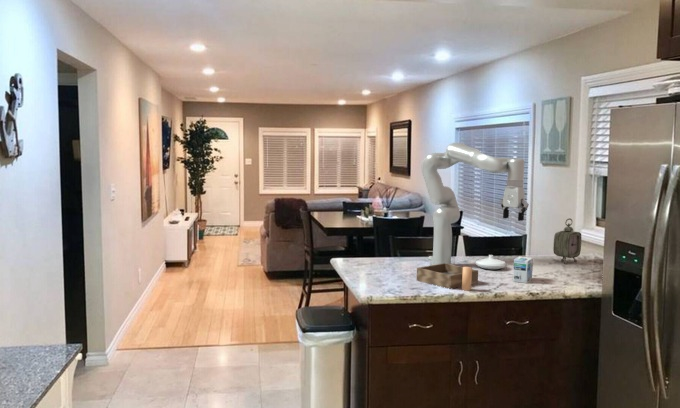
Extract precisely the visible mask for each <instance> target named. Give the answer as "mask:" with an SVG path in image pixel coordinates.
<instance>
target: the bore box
mask: <svg viewBox="0 0 680 408" xmlns="http://www.w3.org/2000/svg"><path fill="white" fill-rule="evenodd" d="M463 267H464V266H458V265H451V264H446V263H442V264H437V265H431V266H430V265H426V266H420V267H416V281H417V282H421V283H425V284H428V283H429V284H430V285H432V284H434V285H433V286H436V285H437V287H440V286H441V288H444V287H445V288H444V289H448V288H449V289H448V290H452V289H451V288H453V289H457V288H456V287H458V288H462V287H461V286H462V274H463ZM475 283H476V284H478V283H479V270H477V269H473V268H472V281H471V284H472V285H475Z"/></svg>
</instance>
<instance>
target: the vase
mask: <svg viewBox="0 0 680 408" xmlns="http://www.w3.org/2000/svg"><path fill="white" fill-rule="evenodd" d="M475 265H476V266H478V267H479V268H482V269H486V270H491V271H492V270H501V269H503V268H505V267H507V263H506V261H505V260H500V259H498V258H494V255H493V254H488V257H487V258H486V257H485V258H479V259H476V260H475Z"/></svg>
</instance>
